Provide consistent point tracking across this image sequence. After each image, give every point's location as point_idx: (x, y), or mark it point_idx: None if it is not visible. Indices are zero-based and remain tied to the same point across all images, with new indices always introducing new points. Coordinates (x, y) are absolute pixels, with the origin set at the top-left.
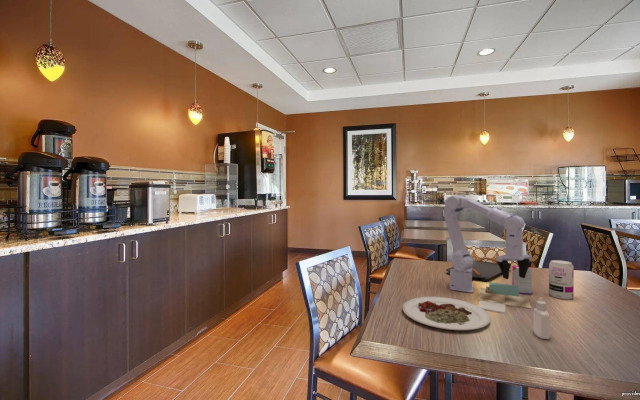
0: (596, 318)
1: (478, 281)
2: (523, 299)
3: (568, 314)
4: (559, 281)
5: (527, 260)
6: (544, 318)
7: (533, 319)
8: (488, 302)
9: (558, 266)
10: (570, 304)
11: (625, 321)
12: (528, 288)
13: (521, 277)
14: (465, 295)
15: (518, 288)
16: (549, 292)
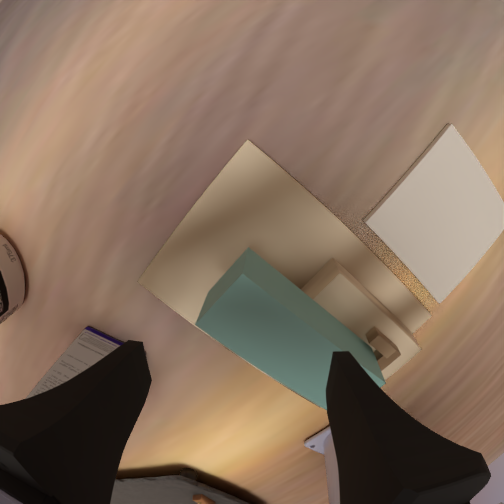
0: (52, 17)
1: (216, 476)
2: (180, 272)
3: (113, 49)
4: None
5: (3, 475)
6: None
7: None
8: (428, 267)
9: None
10: (15, 177)
11: (4, 11)
12: (85, 348)
13: (146, 362)
14: (419, 377)
15: (244, 273)
16: (20, 297)
